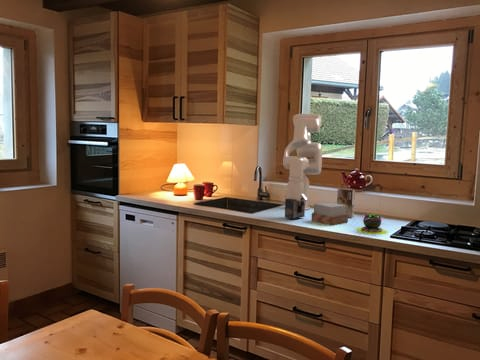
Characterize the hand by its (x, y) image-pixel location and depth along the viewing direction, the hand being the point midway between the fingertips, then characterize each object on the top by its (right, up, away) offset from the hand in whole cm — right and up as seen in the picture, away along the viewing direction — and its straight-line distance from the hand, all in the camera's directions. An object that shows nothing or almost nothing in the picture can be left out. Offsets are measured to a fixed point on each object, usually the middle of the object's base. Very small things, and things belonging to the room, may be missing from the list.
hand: (294, 211), depth 248 cm
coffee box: (+31, -4, +12) cm, 34 cm away
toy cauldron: (+35, -8, -26) cm, 44 cm away
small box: (0, -3, 0) cm, 3 cm away
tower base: (+18, -6, -6) cm, 20 cm away
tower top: (+18, -1, -6) cm, 19 cm away
